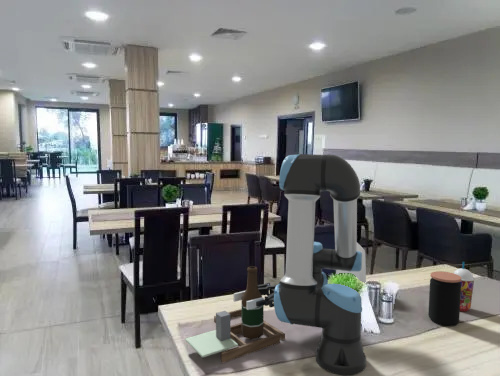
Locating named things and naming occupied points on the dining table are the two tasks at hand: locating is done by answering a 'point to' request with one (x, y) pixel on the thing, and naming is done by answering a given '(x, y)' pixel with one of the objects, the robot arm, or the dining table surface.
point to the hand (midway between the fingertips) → (240, 301)
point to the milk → (361, 274)
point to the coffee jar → (444, 298)
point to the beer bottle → (255, 316)
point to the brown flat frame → (243, 348)
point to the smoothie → (465, 288)
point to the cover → (214, 337)
